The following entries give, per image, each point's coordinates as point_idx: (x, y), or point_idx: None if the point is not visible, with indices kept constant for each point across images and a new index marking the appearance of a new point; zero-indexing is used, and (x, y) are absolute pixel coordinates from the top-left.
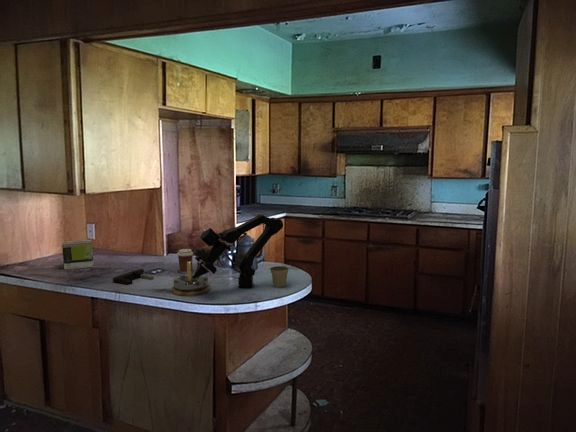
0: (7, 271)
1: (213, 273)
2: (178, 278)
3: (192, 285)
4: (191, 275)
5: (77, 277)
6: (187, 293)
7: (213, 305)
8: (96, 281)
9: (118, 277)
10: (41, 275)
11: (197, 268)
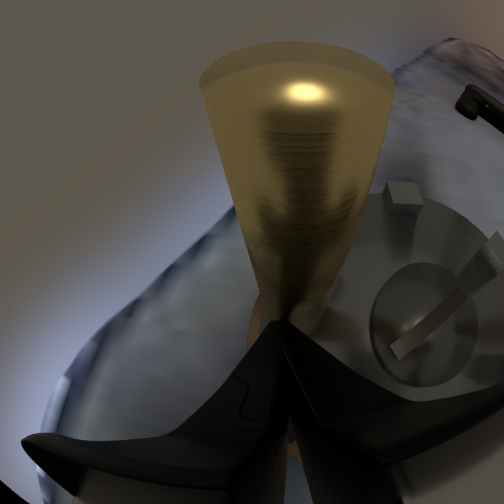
0: (467, 42)
1: (15, 494)
2: (474, 230)
3: (259, 332)
4: (260, 293)
5: (474, 69)
6: (255, 303)
7: (51, 400)
8: (462, 77)
9: (476, 91)
10: (465, 51)
11: (317, 400)
